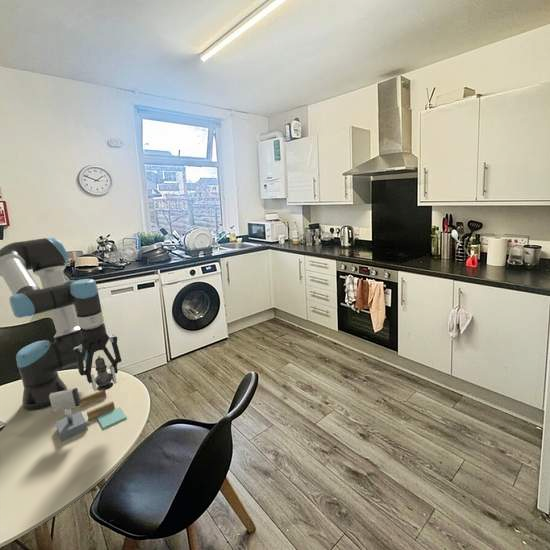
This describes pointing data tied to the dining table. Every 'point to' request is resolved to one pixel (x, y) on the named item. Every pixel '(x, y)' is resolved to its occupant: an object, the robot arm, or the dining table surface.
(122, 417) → the coaster
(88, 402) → the block
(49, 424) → the dining table surface
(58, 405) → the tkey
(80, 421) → the block
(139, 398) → the dining table surface
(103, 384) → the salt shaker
